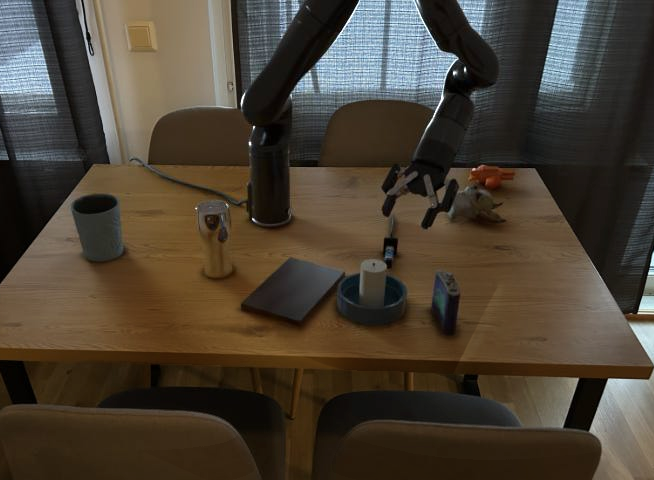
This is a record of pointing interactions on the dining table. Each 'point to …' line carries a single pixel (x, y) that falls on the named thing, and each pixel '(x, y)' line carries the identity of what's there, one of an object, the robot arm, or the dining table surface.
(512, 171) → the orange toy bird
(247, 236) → the dining table surface
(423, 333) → the dining table surface
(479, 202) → the ceramic sculpture
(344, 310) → the bowl
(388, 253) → the knife
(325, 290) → the cutting board
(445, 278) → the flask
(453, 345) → the dining table surface
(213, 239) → the beer glass
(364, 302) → the candle
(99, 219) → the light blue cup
